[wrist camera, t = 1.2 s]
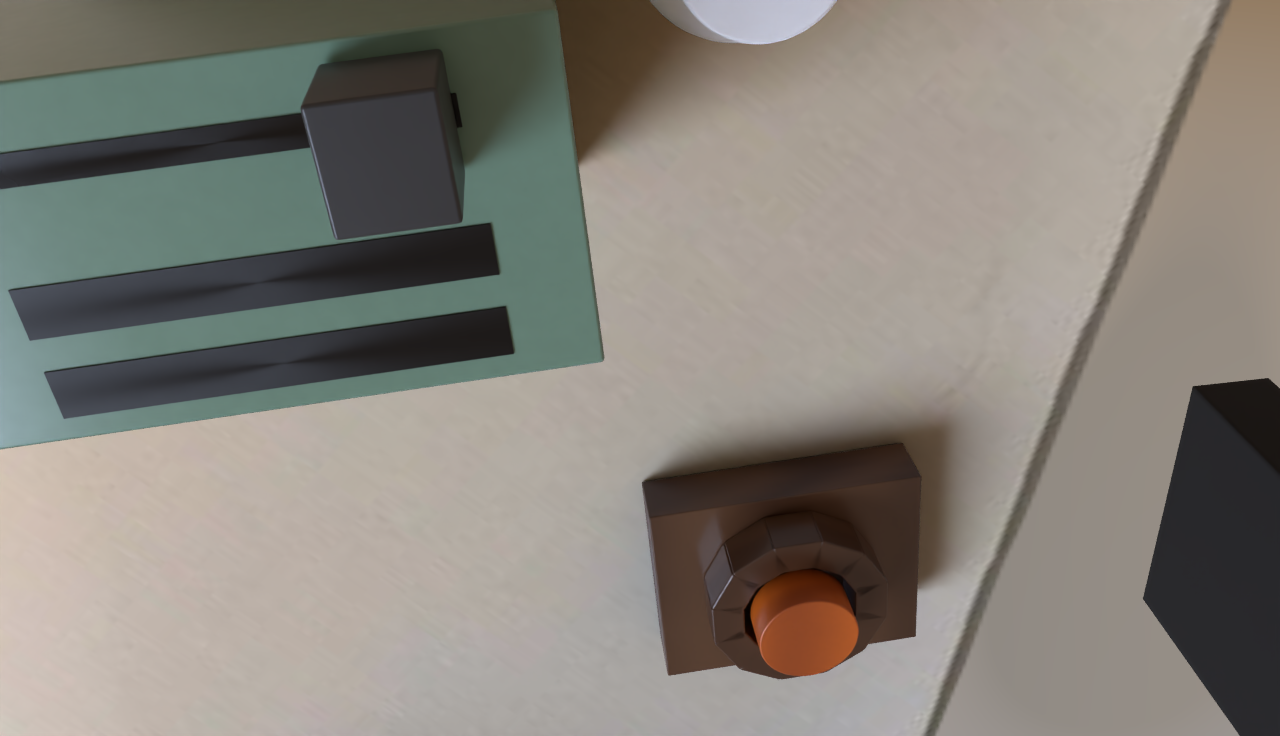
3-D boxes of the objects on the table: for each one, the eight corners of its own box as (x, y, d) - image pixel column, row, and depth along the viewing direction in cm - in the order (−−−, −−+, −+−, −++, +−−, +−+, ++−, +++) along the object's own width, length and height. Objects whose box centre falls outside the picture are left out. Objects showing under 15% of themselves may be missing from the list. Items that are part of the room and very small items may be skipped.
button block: (902, 442, 44) (938, 506, 40) (899, 599, 48) (931, 670, 44) (641, 481, 43) (655, 550, 40) (660, 636, 47) (674, 711, 44)
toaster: (534, -95, 32) (557, 9, 22) (571, 172, 37) (605, 364, 26) (30, -31, 32) (-188, 106, 21) (126, 233, 36) (-18, 454, 26)
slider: (442, 46, 22) (436, 88, 20) (466, 173, 24) (463, 224, 21) (316, 63, 22) (298, 105, 20) (348, 189, 23) (333, 242, 21)
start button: (845, 561, 41) (859, 594, 40) (846, 634, 43) (859, 668, 42) (747, 576, 41) (757, 610, 40) (752, 649, 43) (762, 683, 42)
